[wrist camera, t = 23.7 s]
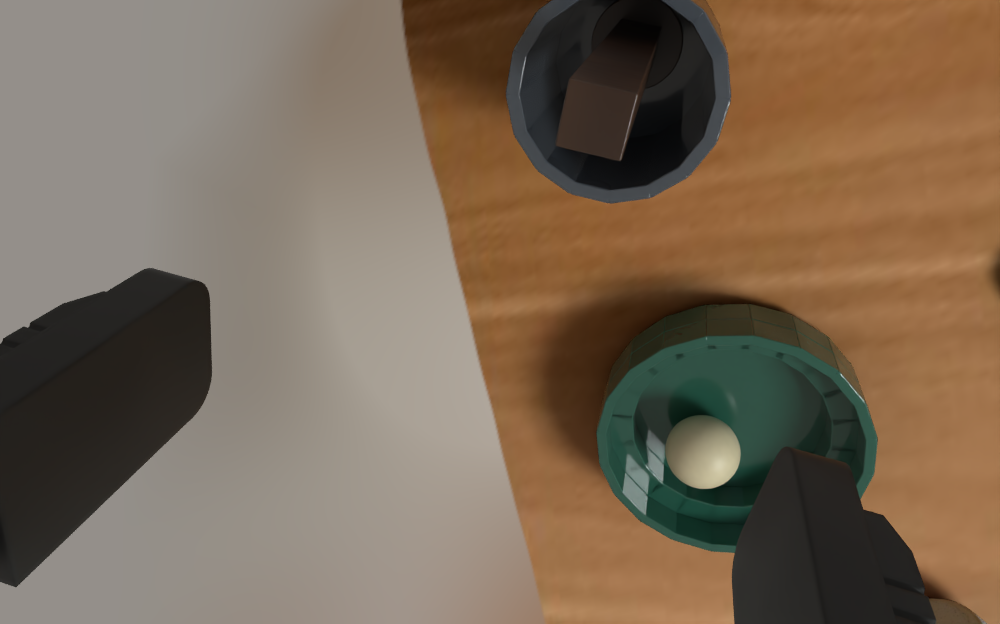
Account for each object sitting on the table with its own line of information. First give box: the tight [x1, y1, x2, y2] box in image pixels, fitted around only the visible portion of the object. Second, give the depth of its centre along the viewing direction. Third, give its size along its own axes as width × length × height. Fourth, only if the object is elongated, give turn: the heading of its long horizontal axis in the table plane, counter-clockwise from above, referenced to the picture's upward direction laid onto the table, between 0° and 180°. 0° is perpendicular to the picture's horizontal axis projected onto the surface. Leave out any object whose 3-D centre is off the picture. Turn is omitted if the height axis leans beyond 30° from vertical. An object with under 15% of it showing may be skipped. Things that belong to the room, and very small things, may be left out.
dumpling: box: [665, 415, 741, 489], centre depth 44 cm, size 4×4×4 cm
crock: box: [506, 0, 731, 203], centre depth 34 cm, size 9×9×10 cm
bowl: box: [596, 304, 878, 553], centre depth 44 cm, size 15×15×4 cm
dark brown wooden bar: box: [555, 0, 683, 161], centre depth 29 cm, size 4×4×18 cm
